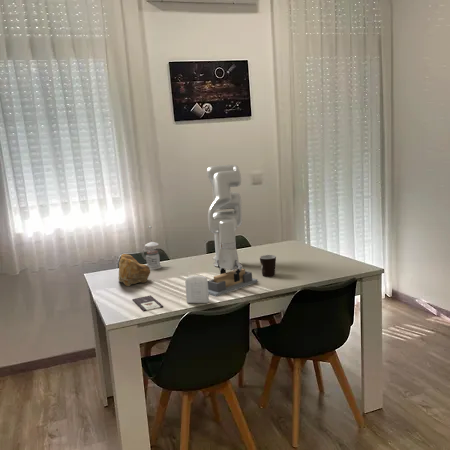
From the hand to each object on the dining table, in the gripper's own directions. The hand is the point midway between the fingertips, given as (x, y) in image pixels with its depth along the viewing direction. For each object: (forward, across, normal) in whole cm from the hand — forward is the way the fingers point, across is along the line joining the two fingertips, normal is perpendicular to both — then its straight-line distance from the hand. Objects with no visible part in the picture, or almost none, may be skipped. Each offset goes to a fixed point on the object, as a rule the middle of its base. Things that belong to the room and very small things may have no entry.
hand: (230, 279), depth 225 cm
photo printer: (+4, +4, -24) cm, 25 cm away
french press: (+4, -66, -2) cm, 66 cm away
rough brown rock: (+4, -48, -25) cm, 54 cm away
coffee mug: (+4, +1, +27) cm, 27 cm away
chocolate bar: (+4, -13, -40) cm, 42 cm away
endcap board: (+4, 0, 0) cm, 4 cm away
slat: (+3, 0, 0) cm, 3 cm away
